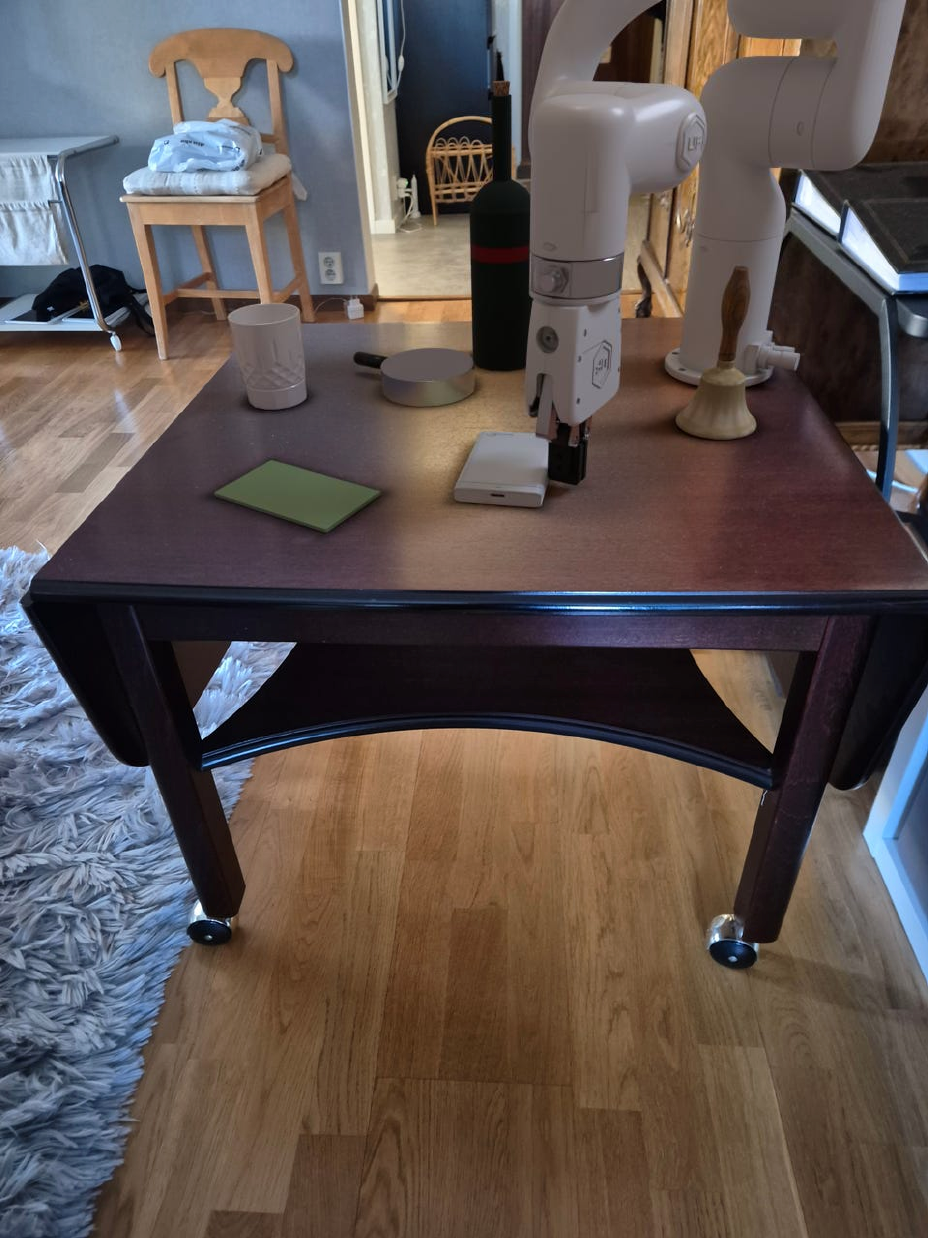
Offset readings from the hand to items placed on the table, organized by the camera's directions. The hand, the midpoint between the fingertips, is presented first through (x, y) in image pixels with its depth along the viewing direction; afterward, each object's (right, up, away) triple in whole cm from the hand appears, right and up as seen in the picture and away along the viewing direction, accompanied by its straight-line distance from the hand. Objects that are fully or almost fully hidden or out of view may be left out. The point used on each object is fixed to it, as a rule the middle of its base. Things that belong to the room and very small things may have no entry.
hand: (566, 478), depth 79 cm
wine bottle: (-3, +20, +29) cm, 35 cm away
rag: (-25, -1, +1) cm, 26 cm away
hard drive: (-5, +1, +3) cm, 6 cm away
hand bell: (+17, +8, +11) cm, 22 cm away
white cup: (-31, +13, +21) cm, 40 cm away
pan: (-16, +15, +23) cm, 32 cm away
